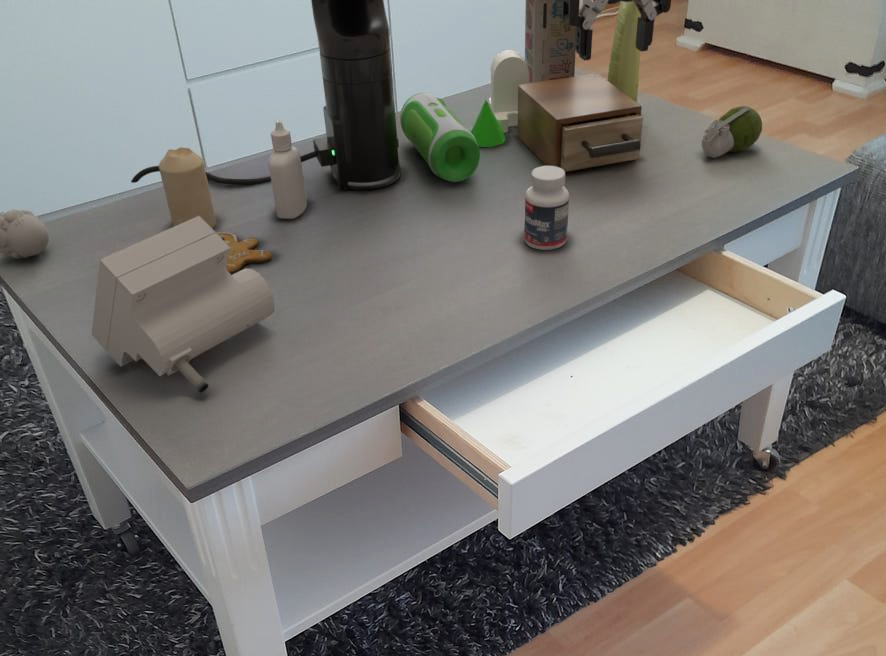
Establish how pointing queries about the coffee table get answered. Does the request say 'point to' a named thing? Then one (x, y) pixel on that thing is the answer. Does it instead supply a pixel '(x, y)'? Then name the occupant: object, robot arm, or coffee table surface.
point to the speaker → (439, 137)
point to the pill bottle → (546, 209)
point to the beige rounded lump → (22, 234)
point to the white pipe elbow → (175, 299)
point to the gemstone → (487, 128)
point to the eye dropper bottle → (286, 175)
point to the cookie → (242, 252)
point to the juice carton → (548, 41)
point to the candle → (186, 187)
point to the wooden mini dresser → (566, 110)
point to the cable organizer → (507, 86)
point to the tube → (625, 51)
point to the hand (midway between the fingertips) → (613, 53)
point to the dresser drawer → (600, 141)
